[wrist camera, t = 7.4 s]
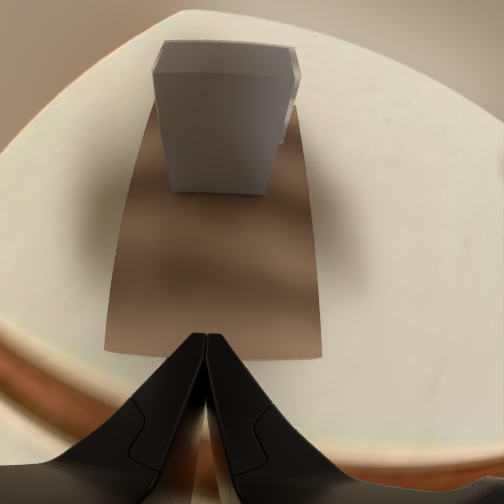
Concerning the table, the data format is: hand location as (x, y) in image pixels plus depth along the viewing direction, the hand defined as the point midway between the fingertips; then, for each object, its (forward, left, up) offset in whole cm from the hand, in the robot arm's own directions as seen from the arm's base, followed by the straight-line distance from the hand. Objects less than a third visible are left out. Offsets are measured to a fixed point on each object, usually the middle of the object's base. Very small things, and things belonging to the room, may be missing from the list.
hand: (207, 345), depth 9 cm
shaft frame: (+8, -6, -9) cm, 14 cm away
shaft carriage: (+14, -10, -7) cm, 18 cm away
